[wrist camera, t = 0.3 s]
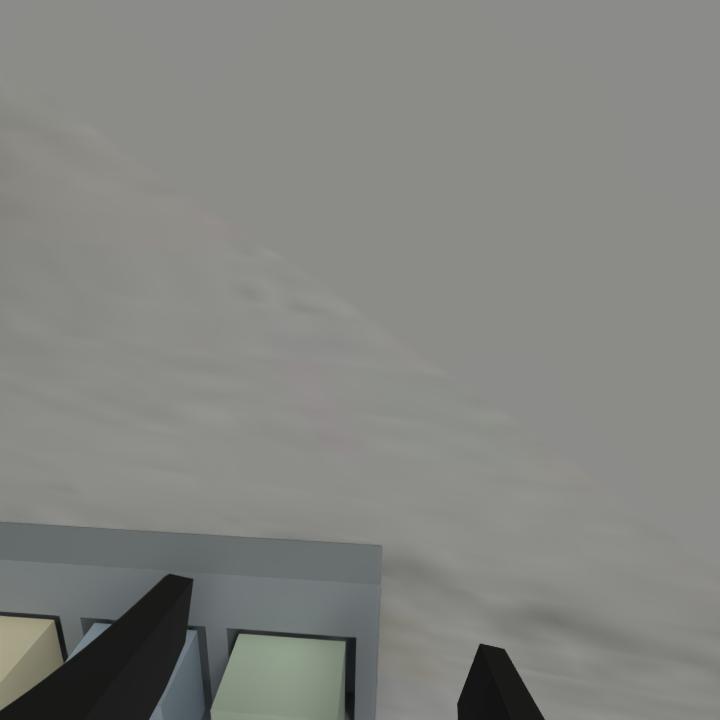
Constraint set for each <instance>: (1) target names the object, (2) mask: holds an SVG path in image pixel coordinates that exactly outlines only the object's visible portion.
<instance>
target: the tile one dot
mask: <svg viewBox="0 0 720 720" xmlns="http://www.w3.org/2000/svg"><path fill="white" fill-rule="evenodd" d="M345 651H346V642H345V641H332V640H318V639H305V638H291V637H278V636H264V635H251V634H239V635H238V638H237V640H236V643H235V646H234V648H233V651H232V654H231V656H230V659H229V662H228V664H227V667H226V670H225V673H224V675H223V678H222V681H221V683H220V686H219V689H218V691H217V694H216V697H215V699H214V702H213V705H212V707H211V710H210V712H211V720H344V719H345Z"/></svg>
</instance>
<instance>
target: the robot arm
mask: <svg viewBox="0 0 720 720" xmlns="http://www.w3.org/2000/svg"><path fill="white" fill-rule="evenodd" d="M193 580H194V579H192V578H187V577H183V576H178V575H174V574H168V575H166V576H164V577H163V578H162V579H161V580H160V581H159V582H158V583H157V584H156V585H155V586H154V587H153V588H152V589H151V590H150V591H149V592H148V593H147V594H146V595H144V596H143V597H142V598H141V599H140V600H139V601H138V602H137V603H136V604H135V605H134V606H132V607H131V608H130V609H129V610H128V611H127V612H126V613H125V614H123V615H122V616H121V617H120V618H119V619H118V620H117V621H115V622H114V623H113V624H112V625H111V626H110V627H108V628H107V629H106V630H105V631H104V632H102V633H101V634H100V635H99V636H98V637H97V638H95V639H94V640H93V641H92V642H91V643H89V644H88V645H87V646H86V647H85V648H83V649H82V650H81V651H80V652H78V653H77V654H76V655H74V656H73V657H72V658H71V659H69V660H68V661H67V662H65V663H64V664H63V665H62V666H60V667H59V668H58V669H57V670H55V671H54V672H53V673H51V674H50V675H49V676H48V677H46V678H45V679H44V680H42V681H41V682H40V683H38V684H37V685H35V686H34V687H33V688H31V689H30V690H29V691H27V692H26V693H24V694H23V695H22V696H20V697H19V698H17V699H16V700H15V701H13V702H12V703H10V704H9V705H7V706H6V707H5V708H3V709H2V710H0V720H149V719H150V717H151V715H152V713H153V712H154V710H155V708H156V706H157V704H158V702H159V700H160V698H161V697H162V695H163V693H164V691H165V689H166V687H167V684H168V682H169V680H170V678H171V675H172V673H173V671H174V668H175V666H176V664H177V661H178V659H179V656H180V654H181V652H182V649H183V647H184V645H185V642H186V634H187V626H188V619H189V611H190V603H191V595H192V588H193ZM457 707H458V720H545V719H544V717H543V716H542V714H541V712H540V711H539V709H538V707H537V705H536V704H535V702H534V700H533V698H532V697H531V695H530V693H529V691H528V690H527V688H526V686H525V684H524V682H523V681H522V679H521V677H520V675H519V674H518V672H517V670H516V668H515V667H514V665H513V663H512V661H511V659H510V658H509V656H508V654H507V653H506V651H505V649H502V648H498V647H493V646H489V645H484V644H480V645H479V647H478V650H477V653H476V655H475V658H474V661H473V663H472V666H471V669H470V671H469V674H468V677H467V679H466V682H465V685H464V687H463V690H462V693H461V695H460V698H459V701H458V703H457Z"/></svg>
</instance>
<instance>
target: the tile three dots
mask: <svg viewBox="0 0 720 720" xmlns="http://www.w3.org/2000/svg"><path fill="white" fill-rule="evenodd" d="M63 664H64V663H63V658H62V654H61V649H60V645H59V640H58V635H57V631H56V626H55V621H54V620H49V619H35V618H22V617H8V616H0V710H2V709H3V708H5V707H6V706H7V705H9V704H10V703H12V702H13V701H15V700H16V699H17V698H19V697H20V696H22V695H23V694H24V693H26V692H27V691H29V690H30V689H31V688H33V687H34V686H35V685H37V684H38V683H40V682H41V681H42V680H44V679H45V678H46V677H48V676H49V675H50V674H51V673H53V672H54V671H55V670H57V669H58V668H59V667H60V666H62V665H63Z"/></svg>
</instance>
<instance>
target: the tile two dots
mask: <svg viewBox="0 0 720 720" xmlns="http://www.w3.org/2000/svg"><path fill="white" fill-rule="evenodd" d="M111 625H112V624H102V623H94V624H93V626H92V627H91V628H90V630H89V631H88V632H87V634H86V635H85V636H84V638H83V639H82V640H81V642H80V643H79V644H78V646H77V647H76V648H75V650H74V651H73V652H72V654H71V655H70V656H69V658H68V659H67V660H66V662H67V661H68V660H69V659H71V658H72V657H73V656H74V655H76V654H77V653H78V652H80V651H81V650H82V649H83V648H85V647H86V646H87V645H88V644H89V643H91V642H92V641H93V640H94V639H95V638H97V637H98V636H99V635H100V634H101V633H102V632H104V631H105V630H106V629H107V628H108V627H110V626H111ZM204 711H205V701H204V691H203V682H202V672H201V663H200V653H199V643H198V634H197V630H187V634H186V642H185V645H184V647H183V649H182V652H181V654H180V656H179V659H178V661H177V664H176V666H175V668H174V671H173V673H172V675H171V678H170V680H169V682H168V684H167V687H166V689H165V691H164V693H163V695H162V697H161V698H160V700H159V702H158V704H157V706H156V708H155V710H154V712H153V713H152V715H151V717H150V719H149V720H201V719H202V717H203V714H204Z"/></svg>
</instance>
